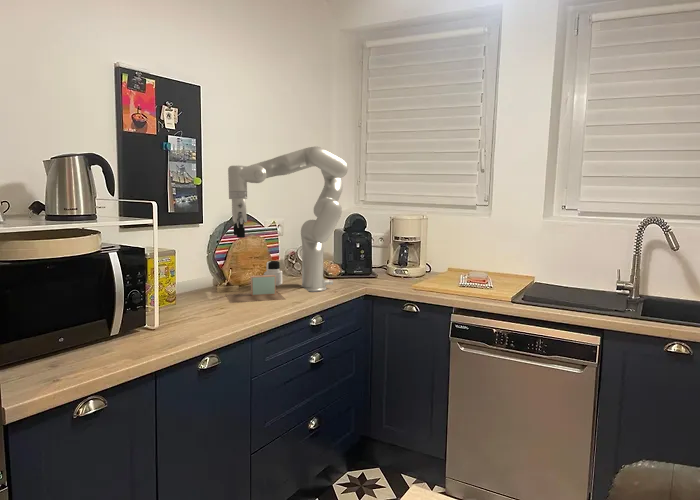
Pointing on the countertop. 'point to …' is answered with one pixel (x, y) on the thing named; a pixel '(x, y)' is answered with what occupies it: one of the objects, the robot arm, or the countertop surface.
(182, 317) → the countertop surface
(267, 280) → the tile
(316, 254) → the robot arm
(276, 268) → the medicine bottle
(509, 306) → the countertop surface
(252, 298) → the board
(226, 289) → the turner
